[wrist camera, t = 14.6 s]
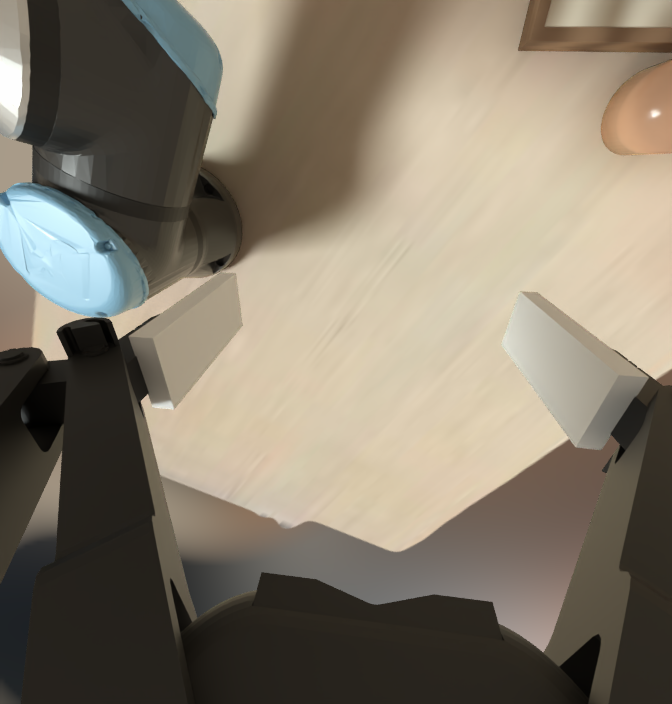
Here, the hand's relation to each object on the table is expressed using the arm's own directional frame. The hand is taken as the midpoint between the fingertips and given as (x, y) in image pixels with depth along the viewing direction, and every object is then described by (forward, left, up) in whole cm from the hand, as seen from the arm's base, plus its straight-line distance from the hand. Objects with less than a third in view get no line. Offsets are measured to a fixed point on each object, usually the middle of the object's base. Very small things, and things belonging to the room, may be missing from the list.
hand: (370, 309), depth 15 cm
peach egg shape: (+29, +12, -33) cm, 45 cm away
